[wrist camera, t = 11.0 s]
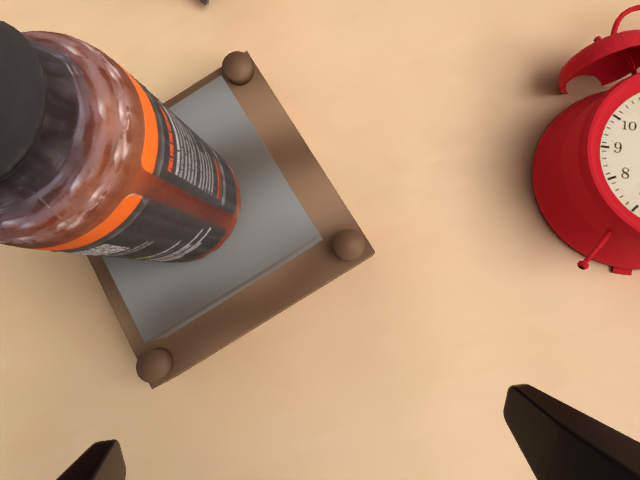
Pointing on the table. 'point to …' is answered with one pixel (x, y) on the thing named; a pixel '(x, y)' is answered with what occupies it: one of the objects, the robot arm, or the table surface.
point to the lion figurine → (205, 2)
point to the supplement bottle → (101, 159)
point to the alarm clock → (596, 157)
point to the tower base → (281, 282)
